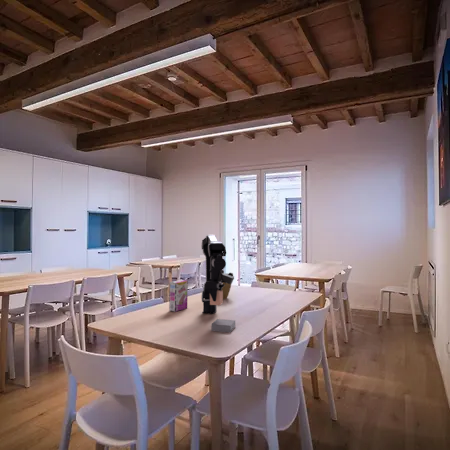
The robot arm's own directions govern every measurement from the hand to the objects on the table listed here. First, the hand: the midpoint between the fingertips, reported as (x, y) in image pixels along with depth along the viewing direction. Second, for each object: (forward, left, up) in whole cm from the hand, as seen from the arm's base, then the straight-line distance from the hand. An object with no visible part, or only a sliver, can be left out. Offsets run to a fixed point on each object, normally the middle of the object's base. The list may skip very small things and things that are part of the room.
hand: (216, 300), depth 160 cm
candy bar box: (-30, +23, -12) cm, 40 cm away
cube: (0, 0, -2) cm, 2 cm away
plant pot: (-15, +60, -12) cm, 63 cm away
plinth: (+5, -5, -12) cm, 14 cm away
